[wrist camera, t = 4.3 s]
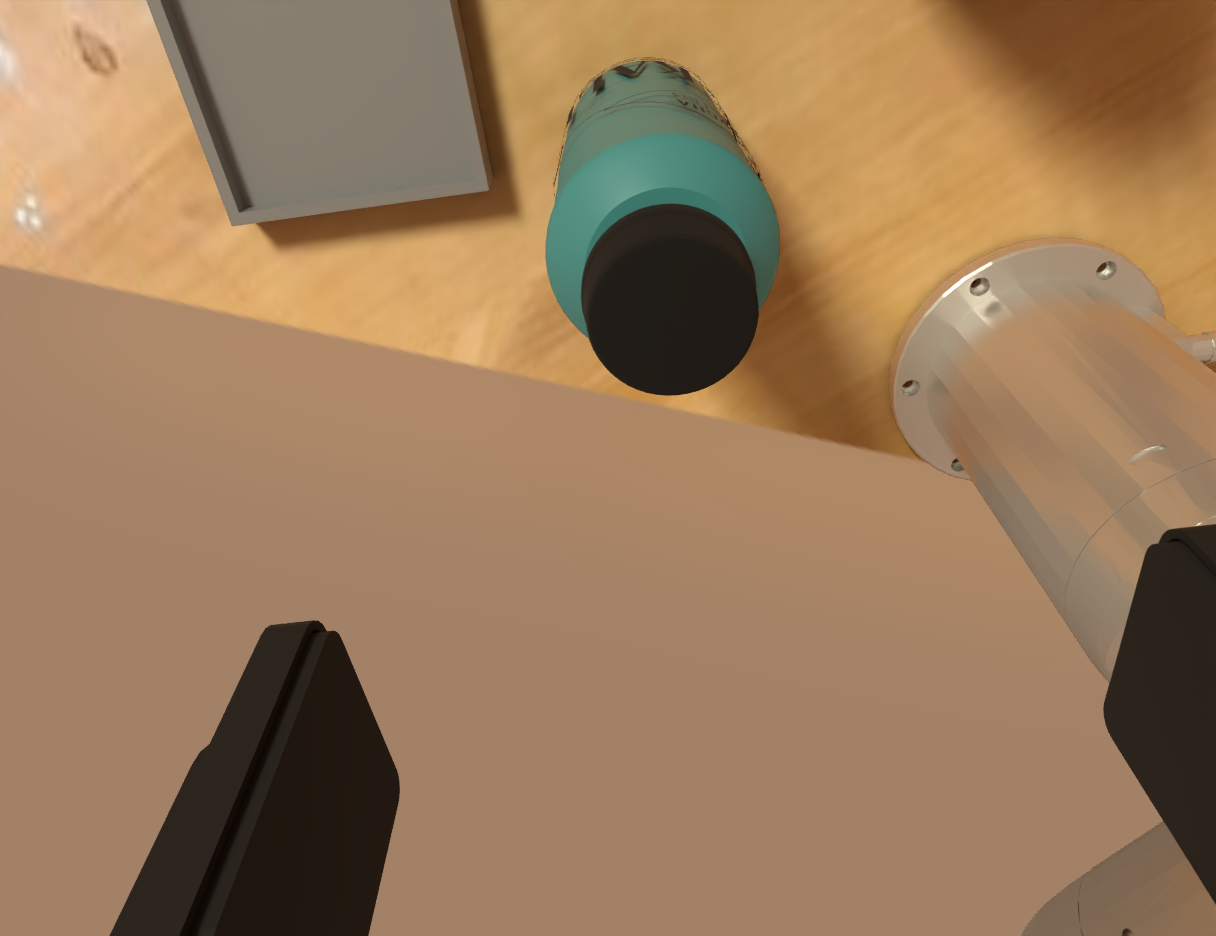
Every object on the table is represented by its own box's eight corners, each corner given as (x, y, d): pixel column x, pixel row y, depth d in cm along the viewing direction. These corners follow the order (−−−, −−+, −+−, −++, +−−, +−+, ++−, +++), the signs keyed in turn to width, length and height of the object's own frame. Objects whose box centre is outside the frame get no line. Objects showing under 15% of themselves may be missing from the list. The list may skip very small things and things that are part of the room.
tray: (430, -133, 30) (421, -135, 29) (493, 179, 36) (488, 190, 35) (138, -84, 31) (114, -84, 30) (247, 213, 37) (232, 226, 35)
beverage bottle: (678, 235, 38) (740, 489, 21) (539, 174, 36) (485, 395, 19) (749, 90, 34) (889, 252, 18) (599, 16, 33) (595, 118, 16)
